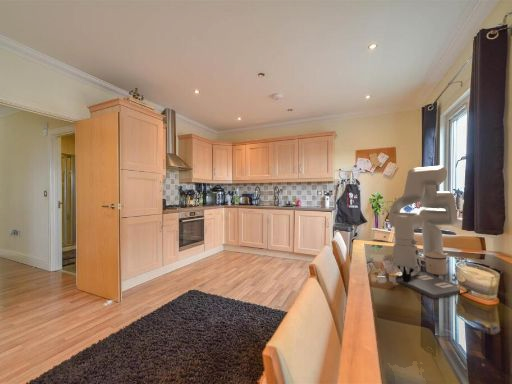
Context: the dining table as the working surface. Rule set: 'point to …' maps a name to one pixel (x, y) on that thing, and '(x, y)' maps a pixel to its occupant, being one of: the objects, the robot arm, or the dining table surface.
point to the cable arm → (399, 276)
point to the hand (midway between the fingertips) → (406, 281)
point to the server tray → (432, 285)
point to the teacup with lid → (435, 263)
